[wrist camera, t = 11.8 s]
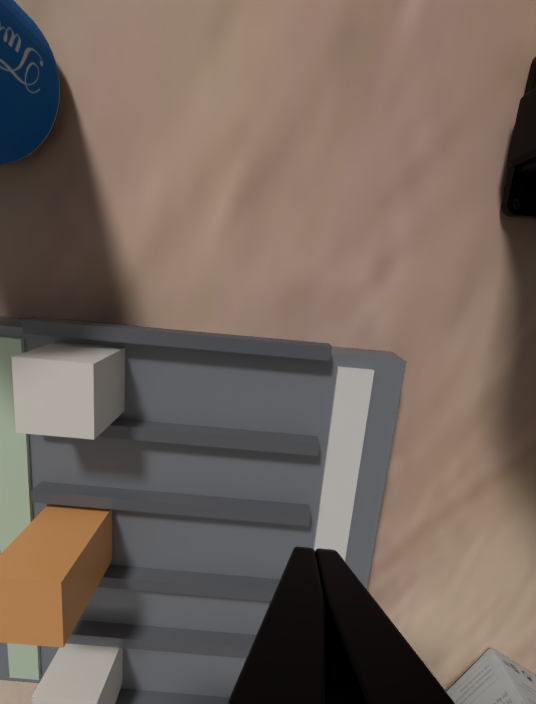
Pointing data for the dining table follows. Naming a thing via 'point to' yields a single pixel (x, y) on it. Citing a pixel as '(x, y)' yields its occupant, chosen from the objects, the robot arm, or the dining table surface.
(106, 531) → the handle
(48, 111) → the beverage can
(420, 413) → the dining table surface
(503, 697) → the supplement box
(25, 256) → the dining table surface
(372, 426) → the board
